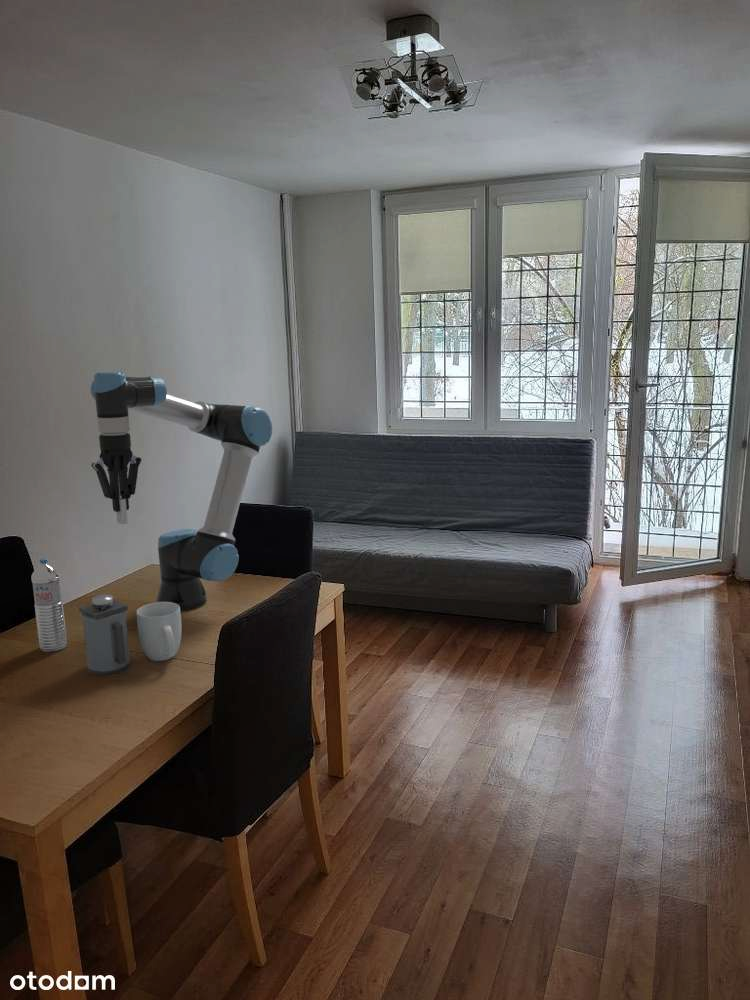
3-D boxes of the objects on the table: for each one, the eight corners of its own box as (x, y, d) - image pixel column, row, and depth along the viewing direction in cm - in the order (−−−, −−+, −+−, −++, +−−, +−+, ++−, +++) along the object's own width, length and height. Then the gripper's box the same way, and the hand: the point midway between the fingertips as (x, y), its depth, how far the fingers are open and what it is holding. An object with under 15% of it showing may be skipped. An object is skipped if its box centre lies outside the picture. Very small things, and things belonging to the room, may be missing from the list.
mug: (194, 663, 188) (191, 615, 185) (152, 674, 182) (147, 625, 179) (175, 643, 200) (172, 598, 197) (134, 653, 194) (130, 607, 192)
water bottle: (72, 644, 200) (63, 557, 195) (52, 654, 194) (42, 564, 188) (54, 640, 203) (44, 554, 197) (34, 650, 197) (23, 561, 191)
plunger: (113, 650, 191) (107, 591, 187) (125, 656, 187) (119, 597, 183) (91, 657, 186) (85, 598, 183) (103, 664, 183) (97, 604, 179)
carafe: (116, 654, 194) (111, 596, 190) (142, 667, 186) (136, 607, 182) (80, 667, 187) (74, 607, 183) (105, 681, 179) (99, 619, 175)
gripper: (129, 429, 194) (137, 515, 199) (82, 434, 184) (91, 525, 190) (145, 431, 189) (152, 520, 194) (97, 437, 179) (106, 530, 185)
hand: (122, 522), depth 192 cm, fingers closed
